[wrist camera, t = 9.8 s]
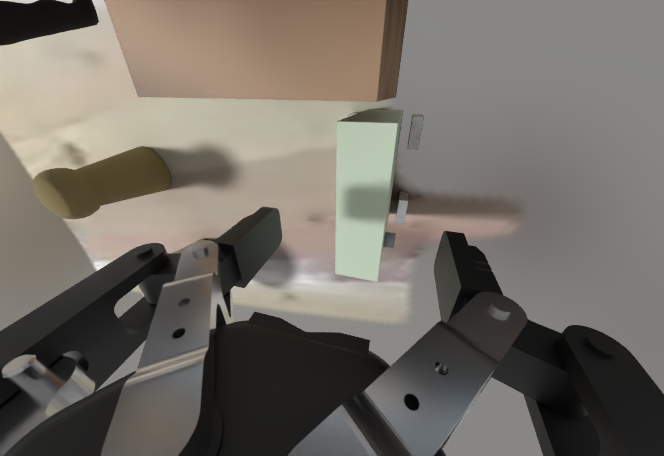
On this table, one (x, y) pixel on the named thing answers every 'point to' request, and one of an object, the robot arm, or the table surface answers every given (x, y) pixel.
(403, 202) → the small rectangular blocks
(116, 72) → the table surface
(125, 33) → the brown wooden box
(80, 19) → the coffeepot
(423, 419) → the robot arm
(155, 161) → the cork
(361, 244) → the door panel
